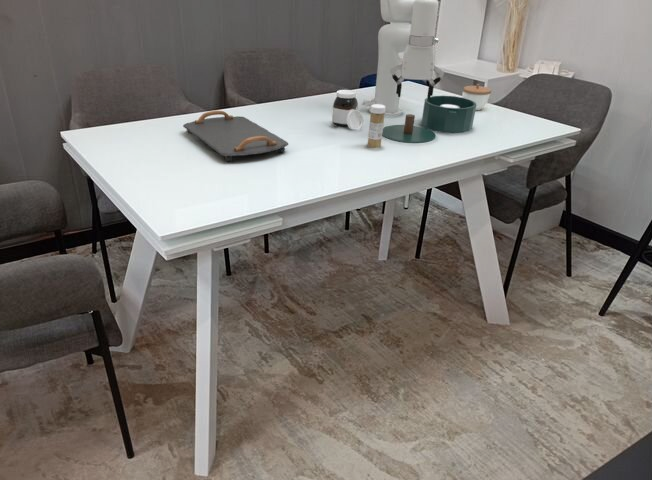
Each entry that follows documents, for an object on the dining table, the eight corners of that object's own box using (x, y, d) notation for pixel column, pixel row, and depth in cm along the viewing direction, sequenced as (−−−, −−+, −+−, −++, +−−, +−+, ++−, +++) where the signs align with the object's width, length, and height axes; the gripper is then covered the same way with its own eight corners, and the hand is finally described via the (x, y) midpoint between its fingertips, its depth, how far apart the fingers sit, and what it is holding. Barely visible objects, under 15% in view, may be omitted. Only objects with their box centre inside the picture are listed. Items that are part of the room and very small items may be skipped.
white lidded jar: (454, 105, 224) (459, 81, 219) (478, 104, 227) (482, 81, 222) (468, 112, 215) (472, 88, 211) (492, 111, 218) (497, 87, 213)
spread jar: (339, 120, 202) (341, 87, 196) (368, 124, 198) (371, 91, 192) (326, 128, 193) (328, 94, 187) (357, 133, 189) (360, 99, 183)
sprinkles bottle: (375, 144, 179) (380, 103, 172) (383, 149, 176) (388, 106, 169) (364, 146, 178) (368, 104, 171) (371, 150, 174) (376, 108, 167)
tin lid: (379, 142, 181) (381, 121, 178) (380, 126, 197) (383, 106, 193) (436, 146, 179) (440, 125, 175) (433, 129, 195) (436, 109, 191)
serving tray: (179, 130, 187) (177, 112, 184) (240, 121, 197) (239, 104, 194) (226, 167, 159) (226, 146, 155) (295, 154, 169) (295, 135, 166)
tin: (422, 134, 190) (426, 108, 185) (420, 116, 209) (423, 92, 204) (474, 138, 187) (480, 112, 183) (467, 119, 207) (472, 95, 202)
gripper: (448, 41, 174) (439, 96, 183) (393, 38, 177) (387, 93, 185) (450, 44, 168) (441, 101, 177) (393, 42, 170) (387, 98, 179)
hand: (413, 97), depth 181 cm, fingers open, 9 cm apart
